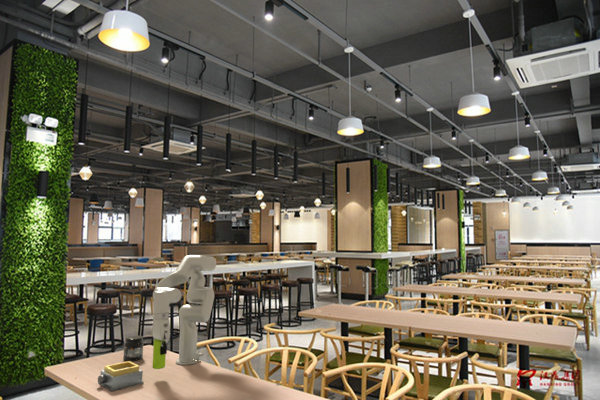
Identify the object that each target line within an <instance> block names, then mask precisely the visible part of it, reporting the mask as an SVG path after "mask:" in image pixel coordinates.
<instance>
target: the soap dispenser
mask: <svg viewBox="0 0 600 400" xmlns="http://www.w3.org/2000/svg"><path fill="white" fill-rule="evenodd" d="M163 339H165V338H163ZM153 341H154V343H153V346H152V347H153V351H152V352H153V353H152V368H153V369H154V370H160V369H164V368H165V367H166V355H167V353H166V354H163V355H160V346H161V341H160V340H158V339H155V340H153ZM163 343H164V341H163Z"/></svg>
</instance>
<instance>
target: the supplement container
mask: <svg viewBox="0 0 600 400" xmlns="http://www.w3.org/2000/svg"><path fill="white" fill-rule="evenodd" d="M124 339H125V340H124V343H123V360H124V361H125V362H128V361H130V362H133V361H139V360H141V359H143V356H144V341H143V340H144V336H142V335H130V336H126V337H125V338H124Z"/></svg>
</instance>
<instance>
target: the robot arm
mask: <svg viewBox="0 0 600 400" xmlns="http://www.w3.org/2000/svg"><path fill="white" fill-rule="evenodd" d="M216 268H217V260H216V258H215V257H214V256H209V255H202V254H201V255H198V254H189V255H186V256H184V257H183V258H182V260H181V261H180V263H179V264H178V266H177V268H176V269H175V271H174V272H172V273H169V274H168V275H167V276H165V277H163V278H162V279H161V280H160V281H159V282H158V283H157V285H156V286H155V288H154V290H153V292H152V300H153V302H152V303H153V305H152V306H153V307H152V331H151V335H152V341H153V344H154V340H155V339H158V340H160V341H161V346H160V355H163V354H166V355H167V353H168V343H169V342H170V339H171V325H170V324H171V323H170V304H176V303H178V302H180V301H181V299H182V297H183V296H182V291H181V290H180V289H179V288H175V287H174V286H178V285H182V284H185V283H186V282H188V280H190V281H189V285H188V289H187V293H186V299H185V300H186V302H188V303H190V304H185V305H182V306H181V307H180V308H179V311H178V316H179V317H178V318H179V327H180V328H179V344H178V345H179V349H178V350H179V351H178V358H177V359H175V364H176V365H180V366H191V365H195V364H198V363H199V362H200V359H199V358H200V357H204V355H205V354H204V352H198V351H197V350H198V348H197V347H198V345H197V344H198V326H197V325H196V323H198V324H199V323H200V324H201V323H202V324H204V323H207V322H208V321H209V319H210V317H211V313H212V310H213V304H214V300H215V290H214V289H213V287H209V286H205V285H206V277H205V275H204V274H203V272H212V271H214V270H215V269H216ZM202 271H203V272H202ZM163 338H164V339H163ZM163 341H164V343H163ZM193 359H194V360H193ZM195 360H197V361H195Z"/></svg>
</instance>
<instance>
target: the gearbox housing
mask: <svg viewBox="0 0 600 400" xmlns="http://www.w3.org/2000/svg"><path fill="white" fill-rule="evenodd" d="M103 368H104V369H101V370H100V375H98V377H97V383H98V385H100V386H102V387H104V388H105V389H106V390H108V391H110V392H115V391H119V390H123V389H127V388H131V387H136V386H139V385H143V384H144V381H143V371H144V370H143V369H140V365H139V364H137V363H134V362H133V361H123V362H119V363H114V364H108V365H104V367H103Z"/></svg>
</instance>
